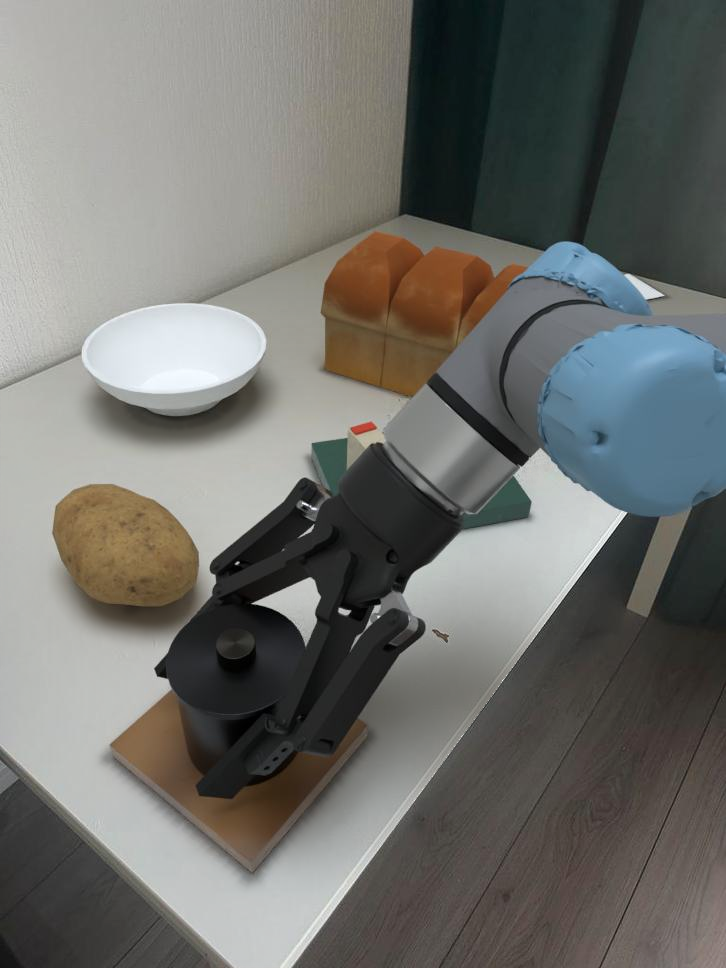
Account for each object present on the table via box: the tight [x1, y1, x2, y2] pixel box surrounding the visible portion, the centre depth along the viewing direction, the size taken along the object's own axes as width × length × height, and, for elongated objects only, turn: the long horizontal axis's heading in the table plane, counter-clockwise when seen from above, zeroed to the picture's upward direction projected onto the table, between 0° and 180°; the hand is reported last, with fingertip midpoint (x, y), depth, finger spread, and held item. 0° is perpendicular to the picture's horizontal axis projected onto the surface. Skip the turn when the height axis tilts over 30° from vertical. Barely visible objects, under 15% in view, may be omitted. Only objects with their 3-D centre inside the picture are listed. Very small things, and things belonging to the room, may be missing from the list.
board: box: [109, 689, 369, 874], centre depth 54 cm, size 13×12×2 cm
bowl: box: [81, 302, 267, 417], centre depth 86 cm, size 20×20×7 cm
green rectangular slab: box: [310, 437, 533, 530], centre depth 76 cm, size 15×20×2 cm
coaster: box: [623, 273, 665, 301], centre depth 114 cm, size 8×8×1 cm
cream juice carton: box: [347, 421, 386, 470], centre depth 70 cm, size 6×2×7 cm, turn 29°
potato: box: [51, 483, 200, 607], centre depth 63 cm, size 10×14×8 cm
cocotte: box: [166, 603, 306, 786], centre depth 50 cm, size 9×9×10 cm
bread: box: [320, 230, 530, 398], centre depth 89 cm, size 25×12×15 cm, turn 63°
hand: (191, 730), depth 50 cm, fingers open, 9 cm apart
